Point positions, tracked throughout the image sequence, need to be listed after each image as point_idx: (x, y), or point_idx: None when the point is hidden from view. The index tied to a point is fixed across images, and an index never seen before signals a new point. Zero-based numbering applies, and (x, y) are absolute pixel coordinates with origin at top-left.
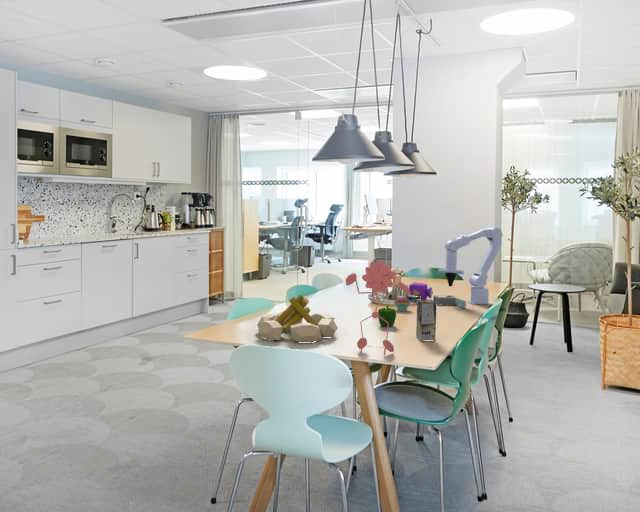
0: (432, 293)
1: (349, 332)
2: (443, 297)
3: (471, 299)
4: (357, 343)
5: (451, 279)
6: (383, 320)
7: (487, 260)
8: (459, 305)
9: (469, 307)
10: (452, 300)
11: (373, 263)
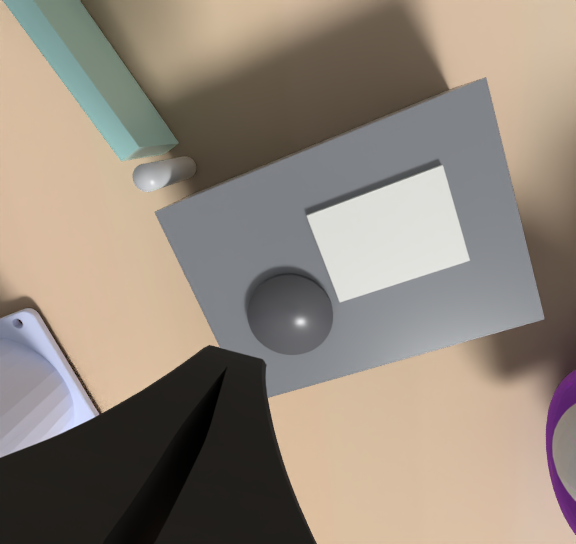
0: (563, 437)
1: None
2: (366, 169)
3: (31, 385)
4: None
5: (86, 449)
6: None
7: None
8: (120, 64)
9: (4, 73)
10: (224, 182)
11: None
